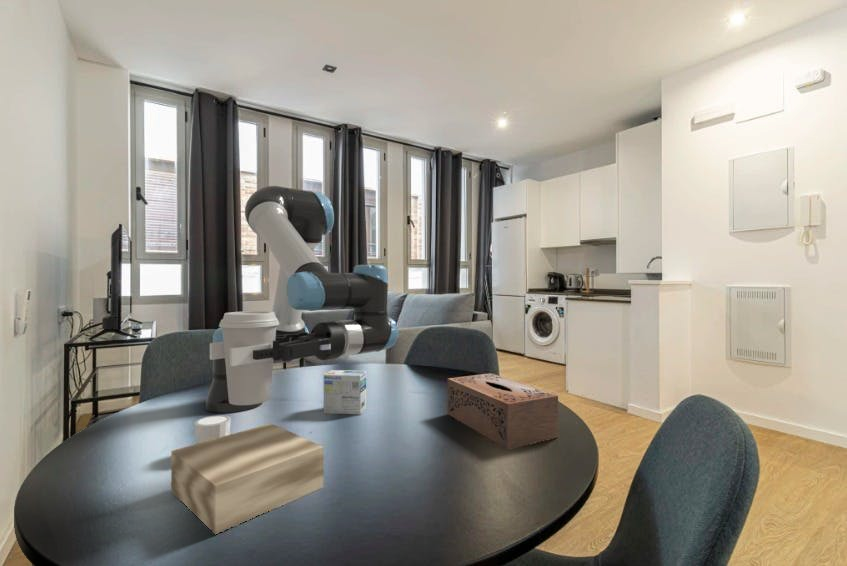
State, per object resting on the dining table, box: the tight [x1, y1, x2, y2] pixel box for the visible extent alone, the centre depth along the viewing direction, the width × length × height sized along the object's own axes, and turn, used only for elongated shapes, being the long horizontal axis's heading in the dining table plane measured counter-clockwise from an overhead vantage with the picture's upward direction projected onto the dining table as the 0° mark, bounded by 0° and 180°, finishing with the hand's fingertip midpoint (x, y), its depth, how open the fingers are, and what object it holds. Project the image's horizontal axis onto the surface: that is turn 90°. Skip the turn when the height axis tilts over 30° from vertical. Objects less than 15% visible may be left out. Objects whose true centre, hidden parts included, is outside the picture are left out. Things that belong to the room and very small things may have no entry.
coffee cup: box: [218, 310, 279, 405], centre depth 70 cm, size 10×10×15 cm
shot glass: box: [193, 414, 232, 444], centre depth 84 cm, size 7×7×7 cm
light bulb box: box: [323, 369, 368, 415], centre depth 113 cm, size 11×7×11 cm, turn 84°
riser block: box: [170, 423, 325, 534], centre depth 70 cm, size 18×18×7 cm
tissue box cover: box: [446, 372, 559, 450], centre depth 101 cm, size 26×14×10 cm, turn 27°
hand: (220, 354), depth 66 cm, fingers closed on coffee cup, 7 cm apart
